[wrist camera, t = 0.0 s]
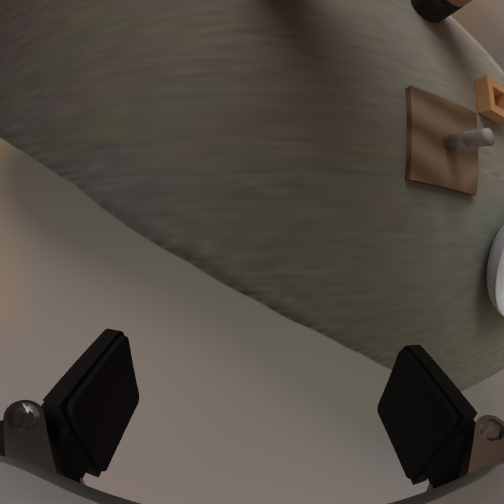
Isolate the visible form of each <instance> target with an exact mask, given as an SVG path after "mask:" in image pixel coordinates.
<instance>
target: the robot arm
mask: <svg viewBox="0 0 504 504" xmlns="http://www.w3.org/2000/svg"><path fill="white" fill-rule="evenodd" d="M43 401H44V403H43V404H42V405H41V406H40V405H39V404H37V403H35V402H34V401H30V400H21V401H17V402H15V403H13V404H11V405H10V406H9V407H8V408H7V409H6V411H5V413H4V417H3V420H2V421H0V504H140V503H136V502H133V501H130V500H126V499H123V498H120V497H117V496H113V495H110V494H107V493H104V492H102V491H99V490H96V489H93V488H91V487H88V486H86V485H85V483H84V481H83V477H84V475H85V473H88V474H91V475H93V476H96V477H99V475H100V473H101V471H106V470H107V468H108V466H109V464H110V462H111V459H112V457H113V455H114V453H115V450H116V448H117V446H118V444H119V442H120V440H121V438H122V436H123V434H124V431H125V429H126V427H127V425H128V423H129V421H130V419H131V417H132V415H133V413H134V411H135V409H136V407H137V405H138V402H139V392H138V387H137V383H136V378H135V373H134V368H133V362H132V357H131V351H130V345H129V340H128V337H126V336H124V333H123V332H121V331H117V330H111V329H106V330H105V331H104V332H103V333H102V334H101V335H100V336H99V337H98V338H97V339H96V340H95V341H94V342H93V343H92V345H91V346H90V347H89V348H88V349H87V350H86V351H85V352H84V353H83V354H82V356H81V357H80V358H79V359H78V360H77V361H76V362H75V363H74V364H73V366H72V367H71V368H70V369H69V370H68V371H67V372H66V374H65V375H64V376H63V377H62V378H61V379H60V380H59V382H58V383H57V384H56V385H55V386H54V387H53V389H52V390H51V391H50V392H49V393H48V395H47V396H46V397H45V398H44V399H43ZM378 414H379V416H380V418H381V420H382V423H383V425H384V427H385V429H386V431H387V433H388V436H389V438H390V440H391V442H392V445H393V447H394V449H395V451H396V454H397V456H398V458H399V461H400V463H401V465H402V468H403V470H404V472H405V475H406V476H407V478H409V479H411V481H412V483H413V485H414V484H417V483H420V482H423V481H425V480H427V479H428V480H429V482H430V483H429V485H428V488H427V491H426V492H424V493H421V494H418V495H415V496H413V497H409V498H406V499H403V500H400V501H396V502H393V503H389V504H504V422H503V421H502V420H501V419H499V418H498V417H495V416H493V415H485V416H482V417H480V418H479V419H478V420H477V421H476V422H475V421H474V420H473V419H474V417H475V416H476V414H477V412H476V411H475V409H474V408H473V407H472V406H471V404H470V403H469V402H468V400H467V399H466V398H465V397H464V396H463V394H462V393H461V392H460V391H459V389H458V388H457V387H456V386H455V385H454V383H453V382H452V381H451V380H450V379H449V377H448V376H447V375H446V374H445V373H444V372H443V370H442V369H441V368H440V367H439V366H438V365H437V363H436V362H435V361H434V360H433V359H432V358H431V357H430V355H429V354H428V353H427V352H426V351H425V350H424V349H423V348H422V346H420V345H409V346H405V347H404V348H403V349H402V350H401V351H400V352H399V353H398V356H397V359H396V361H395V364H394V367H393V370H392V372H391V375H390V377H389V380H388V383H387V385H386V387H385V390H384V392H383V395H382V397H381V399H380V402H379V404H378Z"/></svg>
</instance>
